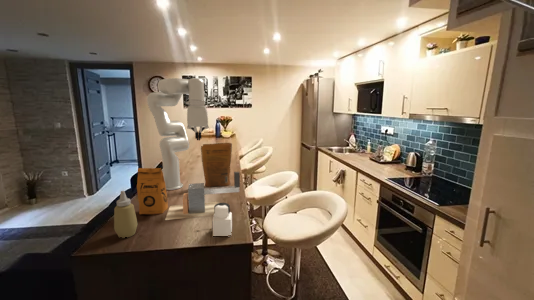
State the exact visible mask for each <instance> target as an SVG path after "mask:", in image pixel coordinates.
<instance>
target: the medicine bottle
mask: <svg viewBox="0 0 534 300" xmlns="http://www.w3.org/2000/svg"><path fill="white" fill-rule="evenodd" d="M212 216H213V217H212V221H211V223H212V224H211V226H212V227H211V228H212V237H213V236H228V235H231V236H232V233H231V232H233V213H232V212H231V207H230V204H229V203H227V202H219V203H218V204H216V205H215V206H214V215H212ZM228 237H229V236H228Z"/></svg>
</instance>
